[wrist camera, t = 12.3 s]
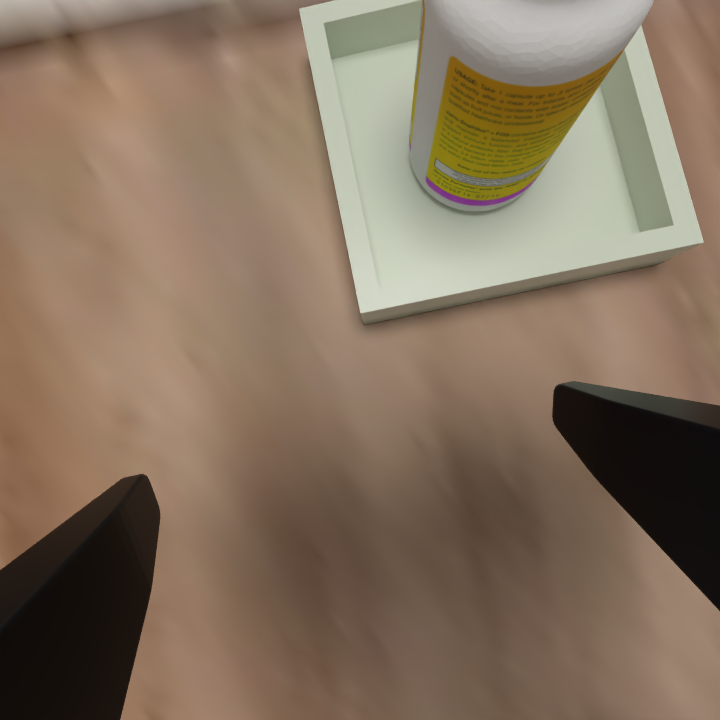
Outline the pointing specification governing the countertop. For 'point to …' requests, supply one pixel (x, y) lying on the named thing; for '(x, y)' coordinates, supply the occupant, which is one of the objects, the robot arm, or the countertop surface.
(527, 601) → the countertop surface
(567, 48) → the supplement bottle
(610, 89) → the tray
